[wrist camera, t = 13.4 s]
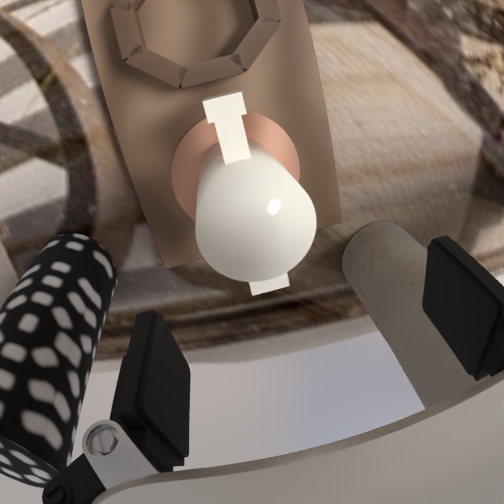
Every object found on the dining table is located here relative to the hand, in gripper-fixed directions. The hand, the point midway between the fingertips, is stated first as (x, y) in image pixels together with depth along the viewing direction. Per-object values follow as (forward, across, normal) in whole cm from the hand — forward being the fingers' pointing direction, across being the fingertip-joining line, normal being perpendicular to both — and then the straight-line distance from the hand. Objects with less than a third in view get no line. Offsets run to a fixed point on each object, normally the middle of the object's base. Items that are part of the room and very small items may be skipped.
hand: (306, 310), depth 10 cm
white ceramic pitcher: (+16, +1, -1) cm, 16 cm away
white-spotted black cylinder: (+18, +18, +5) cm, 26 cm away
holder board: (+18, +1, -7) cm, 19 cm away
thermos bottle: (+18, -11, +12) cm, 24 cm away
